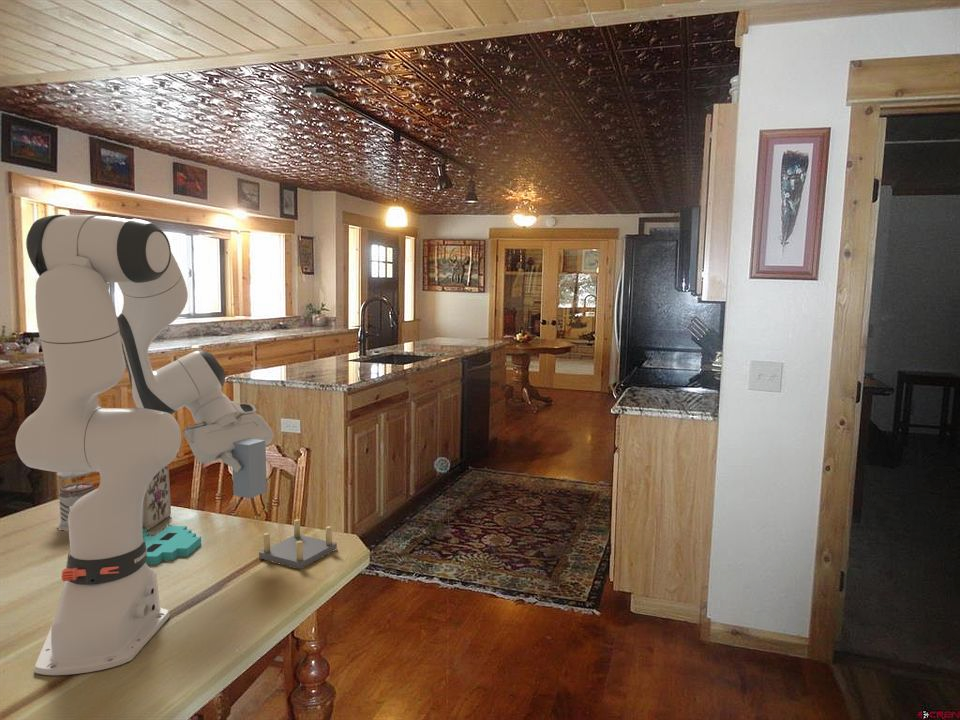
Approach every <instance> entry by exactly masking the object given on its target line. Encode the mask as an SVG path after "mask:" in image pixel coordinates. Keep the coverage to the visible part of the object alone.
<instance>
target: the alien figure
mask: <svg viewBox="0 0 960 720" xmlns="http://www.w3.org/2000/svg"><path fill="white" fill-rule="evenodd" d="M142 531H143V539H144V540H145V542H146V547H147V561H146V564H147V565H158V564H159V563H161V562H162V561H173V560H175V559H176V558H177V557H188V556H190V554H192V553H193V552H194V551H195V550H197V548H199V547H200V546H201V545H202V536H197V532H195V533H193V532H192V529H188V526H187V525H168V526H166V527H165V528H164V529H163V530H161V531H160V532H158V533H157V534H155V535H151V532H147V531H146V529H142Z"/></svg>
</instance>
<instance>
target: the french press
mask: <svg viewBox="0 0 960 720" xmlns="http://www.w3.org/2000/svg"><path fill="white" fill-rule="evenodd" d="M93 473H94V472H56V475H57V476H58V477H60V478H61V479H60V489H59V491H60V493H59V494H58V500H59V502H58V503H59V511H60V512H59V515H60V519H59V520H60V521H59V523H58V524H57V525H58V526H57V525H56V527H58V528H59V529H61V530H69V525H68V514H69V512H70V509H71V508H70V507H72V506H73V504H74V503H75V502H76V501H77V500H78V499H79V498H81V497H82V496H84V495H86V494H88V493H89V492H91V491H93V490H95V488H93V486H94V484H93V483H92V482H78V477H85V476H89V475H90V474H93ZM74 478H75V483H71V484H70V483H69V482H70V480H73V479H74ZM63 479H65V480H66V481H67V484H66V485H64V486H63V484H62V483H63ZM61 530H60V531H61Z"/></svg>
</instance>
